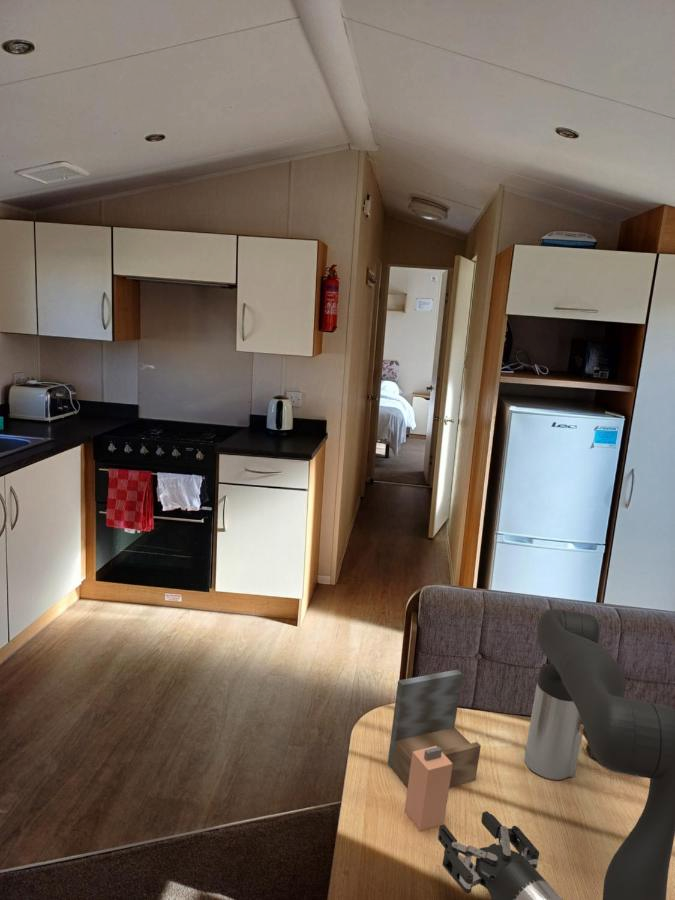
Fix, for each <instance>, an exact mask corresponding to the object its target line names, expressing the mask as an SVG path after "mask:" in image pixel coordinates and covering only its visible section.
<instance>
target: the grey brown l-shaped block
mask: <svg viewBox="0 0 675 900" xmlns="http://www.w3.org/2000/svg"><path fill="white" fill-rule="evenodd" d="M462 680H463V672H461V671H460V670H459V669H453V670H447V671H443V672H437V673H432V674H425V675H421V676H416V677H411V678H405V679H399V680H397V688H396V693H395V694H396V695H395V702H394V710H393V718H392V719H393V720H392V726H391V734H390V744H389V748H388V749H389V750H388V758H387V764H388V766H389V767H390V768H391V769H392V770H393V772H394V773H395V774H396V776H397V777H398V778H399V780H400V781H401V782H402V784H403V785H404V786H405V787H406V789H408V782H409V774H410V767H411V760H412V752H413V751H417V750H421V749H425V748H429V747H433V746H437V747H440V748H441V749H442V753H443V754H444V755H445V756H446V757H447V758H448V759H449V760H450V761H451V762H452V763H453V766H452V772H451V779H450V786H449V788H453V787H456V786H459V785H463V784H465V783H471V782H473V781H476V779H477V772H478V767H479V766H478V765H479V759H480V753H481V747H482V745H481V744H480V743H479V742H478V741H476V742H472V743H471V742H470V741H469V740H468V739H467V738H466V737H465V736H464V735H463V734H462V733H461V732H460V731H459V730H458V729H457V728H456V726H455V725H456V719H457V713H458V706H459V699H460V693H461V686H462Z"/></svg>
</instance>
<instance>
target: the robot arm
mask: <svg viewBox="0 0 675 900" xmlns="http://www.w3.org/2000/svg"><path fill="white" fill-rule="evenodd" d="M536 631H537V641H538V644H539V647H540V649H541V651H542V654H543V655H544V656H545V657H546V658H547V660H549V662H550V663H548V664H546V665H543V666H542V667H541V668H540V669H539V672H538V674H537V675H538V676H537V682H536V687H535V691H534V692H535V693H534V698H533V699H534V700H533V703H532V704H533V705H532V711H531V716H530V722H529V726H528V727H529V728H528V732H527V739H526V745H525V749H524V758H523V759H524V763H525V764H526V766H527V768H529V770H531V771H532V772H534V773H535V774H537V775H539V776H540V777H543V778H545V779H549V780H555V781H558V780H565V779H567V778H575V775H576V769H577V764H578V759H579V755H580V754H579V753H580V749H581V745H582V738H583V734H582V733H583V732H582V731H581V728H580V727H581V723H582V725H583V729H585V732H586V735H587V739H588V742H589V744H590V747H591V750H592V752H593V754H594V756H595V758H594V759H595V760H596V761H597V762H598V764H600V765H601V766H602V767H603V768H605V769H607V770H609V771H612V772H615V773H619V774H624V775H630V776H635V777H641V778H645V779H649V787H648V793H647V799H646V803H645V805H644V808H643V810H642V813H641V814H640V816H639V818H638V820H637V822H636V823H635V825H634V827H632V830H631V831H630V832H629V834H628V835H627V836H626V838H625V839H624V840H623V842H622V844H620V846H619V847H618V849H617V850H616V852H615V853H614V855H613V857H612V858H611V860H610V862H609V865H608V867H607V869H606V873H605V875H604V882H603V889H602V890H603V891H602V900H667V889H668V880H669V879H668V878H669V869H670V861H671V858H672V853H673V852H672V851H673V848H674V847H673V846H674V842H675V708H673V707H671V706H667V705H664V704H660V703H659V704H658V703H654V702H649V701H643V700H636V699H632V698H626V697H625V698H624V696H625V693H626V689H627V680H626V675H625V673H624V670H623V668H621V667H622V666H620V664H619V662H617V660H616V658H614V656H613V655H612V654H611V653H610V651H608V650H607V649H606V648H605V647H603V646H602V645H601V644H600V637H601V636H600V625H599V621H598V620H597V617H596V616H594V615H592V614H590V613H586V612H585V613H584V612H579V611H575V610H574V611H573V610H572V611H571V610H567V609H566V610H565V609H560V608H551V609H550V608H549V609H547V610H545V611H544V612H543V613H542V614H541V615H540V617H539V619H538V622H537V630H536ZM480 821H481V824H482V825H483V826H484V828H485V829H486V830H487V832H489V833H490V835H491V836H492V837H493V838H494V839H495V840H496V839H497V842H498V843H492V844H490V845H488V846H483V847H480V848H477V847H475V846H473V845H468V846H467V845H464V844H461V843H460V842H458V840H457V838H456V837H455V836H454V834H453V833H452V832H451V831H450V829H449V828H448V827H447V826H446V824H442V825H439V826H438V833H437V834H438V835H437V839H438V841H439V843H440V844H441V845H442V847H443V848H444V852H443V860H442V867H444V869H445V870H446V872H447V873H448V874H449V876H451V878H452V879H453V881H455V882H456V884H457V885H458V886H459V887H460V888H461V890H462V891H463V892H464V893H466V894H470V893H472V888H473V887H475V886H478V885H481V886H482V887H484V888H485V889H486V890H487V891H488V893H489V896H490V897H491V900H563V899H562V897H561V896H560V895H559V894H558V893H557V892H556V890H555V889H554V888H553V887H552V886H551V885H550V883H548V881H547V880H546V879H545V878H544V877H543V876H542V875H541V874H540V873H539V871H538V870H537V869H538V868H537V867H538V862H539V857H540V851H539V850H538V849H537V848H536V846H535V845H534V844H533V843H532V842H531V840H530V839H529V838H528V837H527V836H526V835H525V833H524V832H523V831H522V829H521V828H520V827H518V826H517V825H513V826H511V828H510V827H509V828H508V827H507V826H506V825H502V823H501V822H500V821H499V819H498V818H496V816H494V815H493V814H492V813H489V811H483V812H482V814H481V820H480ZM511 845H512V847H514V848H515V850H516V851H517V852H516V851H514V850H512V849H511ZM461 854H462V855H463V856H462V855H461ZM464 856H465V857H464ZM472 857H474V858H475V864H474V863H473V862H472Z"/></svg>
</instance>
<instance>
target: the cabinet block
mask: <svg viewBox="0 0 675 900" xmlns="http://www.w3.org/2000/svg"><path fill="white" fill-rule="evenodd" d="M452 766H453V763H452V762H451V761H450V760H449V759H448V758H447V757H446V756H445V755H444V754H443V753H442V749H441V748H440V747H437V746H433V747H429V748H425V749H421V750H417V751H413V752H412V760H411V767H410V774H409V782H408V789H407V788H406V789H407V790H406V791H407V792H406V797H405V804H404V805H405V806H404V813H406V815H407V816H408V818H409V819H410V821H412V823H413V824H414V826H415V827H416V829H417V830H418V831H419V832H423V831H425V830H428V829H429V830H430V829H432V828H433V829H434V828H435V827H439V826H441V825H445V818H446V812H447V805H448V804H447V803H448V798H449V790H450V787H449V786H450V779H451V772H452Z"/></svg>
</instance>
